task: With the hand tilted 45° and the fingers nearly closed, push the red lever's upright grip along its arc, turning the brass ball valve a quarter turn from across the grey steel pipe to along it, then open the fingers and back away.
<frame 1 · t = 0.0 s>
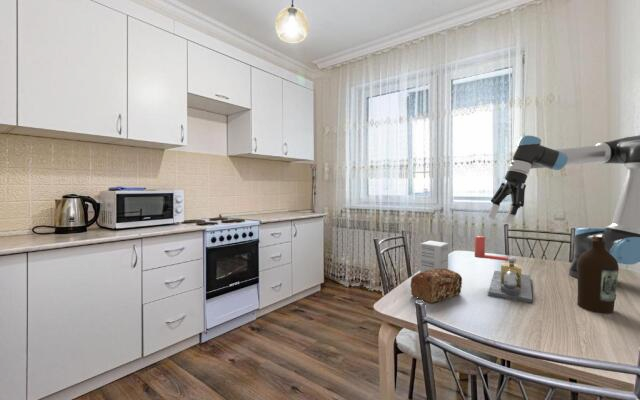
hand: (499, 220, 129), 28 cm above the table, tool tilted 20°, fingers open, 13 cm apart
valve pipe: (510, 286, 129), on the table
olive oil: (595, 308, 106), on the table
bread: (436, 296, 119), on the table
supplement box: (433, 280, 137), on the table
lever: (494, 248, 131), point 15 cm above the table, hinge at 0.0°
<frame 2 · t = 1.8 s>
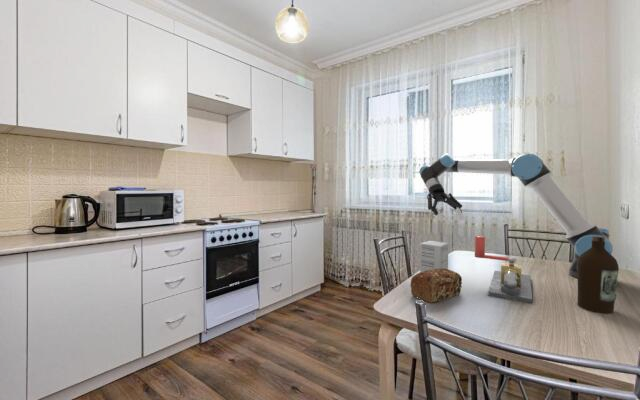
hand: (451, 219, 154), 25 cm above the table, tool tilted 45°, fingers open, 11 cm apart
nothing on the table moved.
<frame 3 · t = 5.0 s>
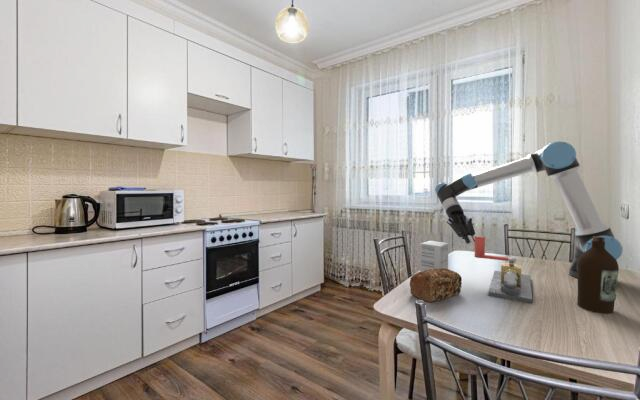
hand: (474, 248, 137), 14 cm above the table, tool tilted 45°, fingers closed
lever: (494, 248, 131), point 15 cm above the table, hinge at 1.5°, touching gripper
everything else where it was.
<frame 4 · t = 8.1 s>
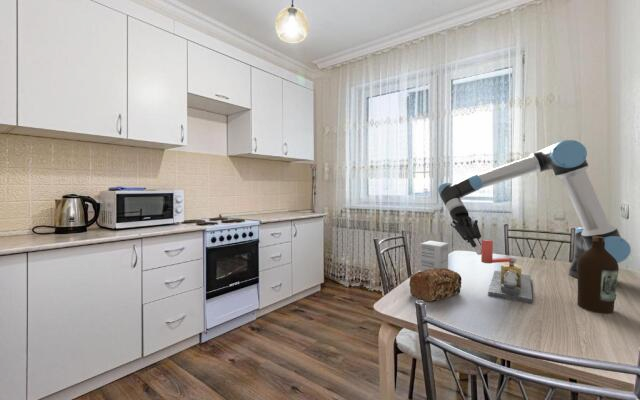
hand: (480, 253, 128), 14 cm above the table, tool tilted 45°, fingers closed
lever: (499, 250, 126), point 15 cm above the table, hinge at 45.0°, touching gripper
everything else where it was.
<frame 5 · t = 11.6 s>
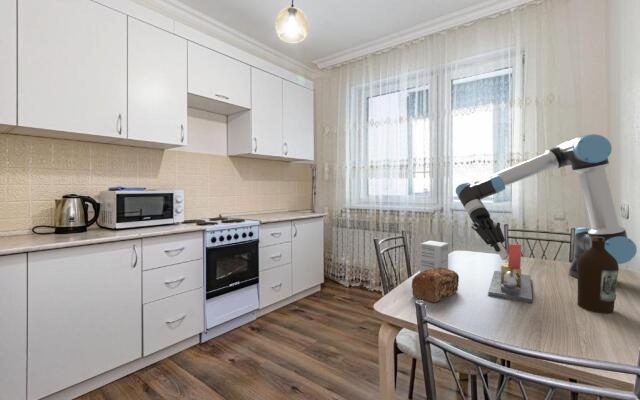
hand: (505, 258, 120), 14 cm above the table, tool tilted 45°, fingers closed
lever: (513, 253, 122), point 15 cm above the table, hinge at 95.3°, touching gripper
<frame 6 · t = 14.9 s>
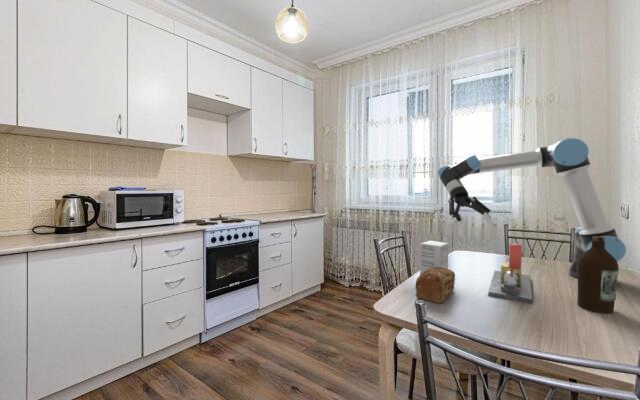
hand: (478, 226, 134), 25 cm above the table, tool tilted 45°, fingers open, 13 cm apart
lever: (513, 253, 122), point 15 cm above the table, hinge at 96.4°
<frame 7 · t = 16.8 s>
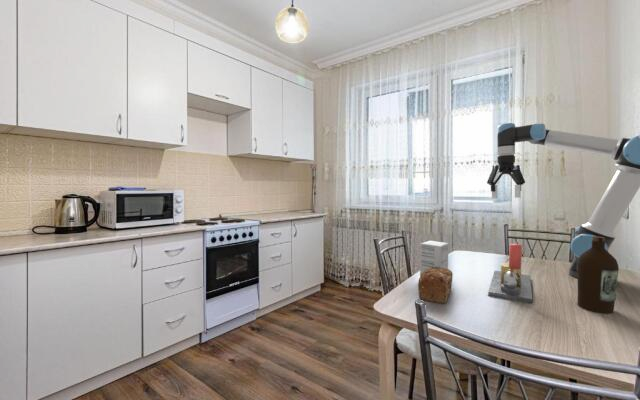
hand: (506, 198, 152), 36 cm above the table, tool pointing down, fingers open, 13 cm apart
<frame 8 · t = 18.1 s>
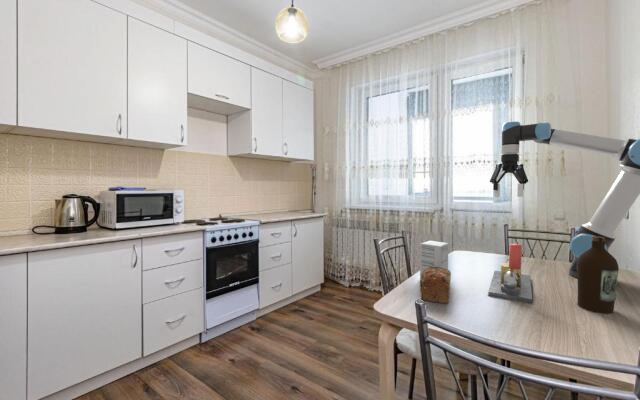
hand: (508, 196, 152), 37 cm above the table, tool pointing down, fingers open, 13 cm apart
at the end: lever at +96° (first picture: +0°); the gripper is holding nothing; supplement box moved 0.2 cm from its start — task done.
